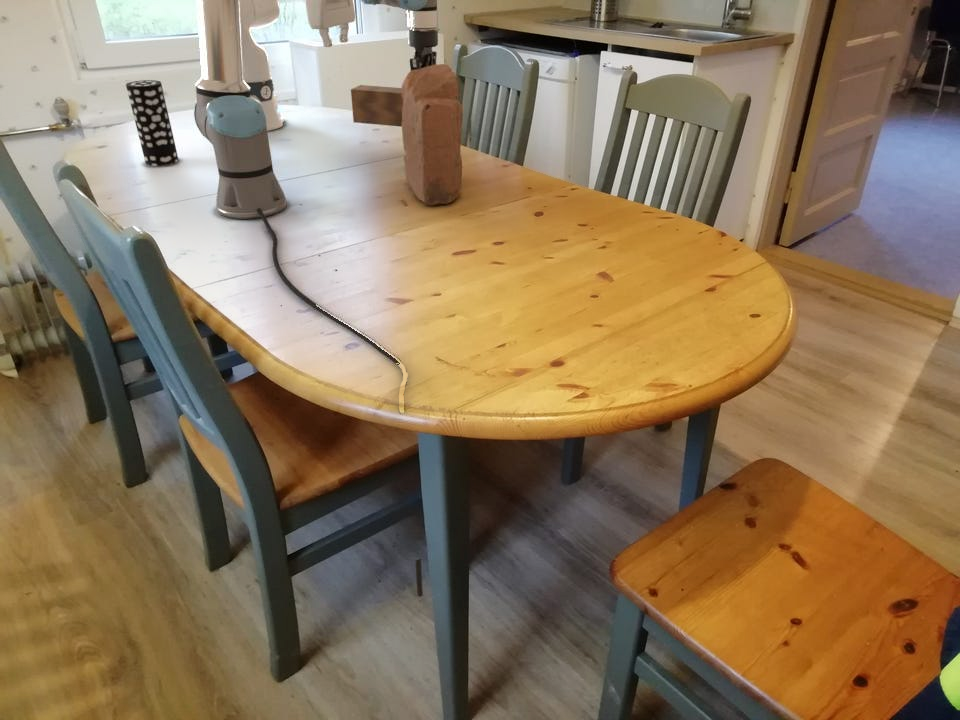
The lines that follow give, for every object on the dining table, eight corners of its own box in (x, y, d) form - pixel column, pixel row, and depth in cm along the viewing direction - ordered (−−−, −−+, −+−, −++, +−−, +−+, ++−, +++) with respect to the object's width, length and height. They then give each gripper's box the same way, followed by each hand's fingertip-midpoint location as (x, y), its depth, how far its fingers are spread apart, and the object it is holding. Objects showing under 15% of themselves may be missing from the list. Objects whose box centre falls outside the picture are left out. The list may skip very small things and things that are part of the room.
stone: (471, 203, 161) (470, 74, 147) (425, 208, 158) (419, 77, 144) (446, 179, 178) (443, 61, 164) (404, 183, 175) (396, 64, 161)
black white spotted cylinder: (184, 157, 190) (167, 80, 179) (169, 166, 183) (151, 87, 172) (155, 156, 190) (136, 79, 179) (139, 165, 183) (119, 86, 172)
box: (444, 124, 186) (444, 91, 181) (437, 129, 181) (436, 95, 176) (362, 117, 191) (360, 84, 187) (353, 122, 186) (350, 89, 182)
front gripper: (421, 23, 180) (424, 114, 193) (394, 33, 165) (399, 131, 177) (448, 24, 179) (450, 116, 191) (423, 34, 163) (426, 133, 176)
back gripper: (336, -17, 186) (342, 39, 193) (298, -12, 170) (307, 49, 177) (357, -17, 185) (363, 39, 192) (321, -12, 168) (329, 49, 175)
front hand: (425, 123), depth 184 cm, fingers closed on box, 6 cm apart
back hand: (336, 44), depth 184 cm, fingers open, 8 cm apart
